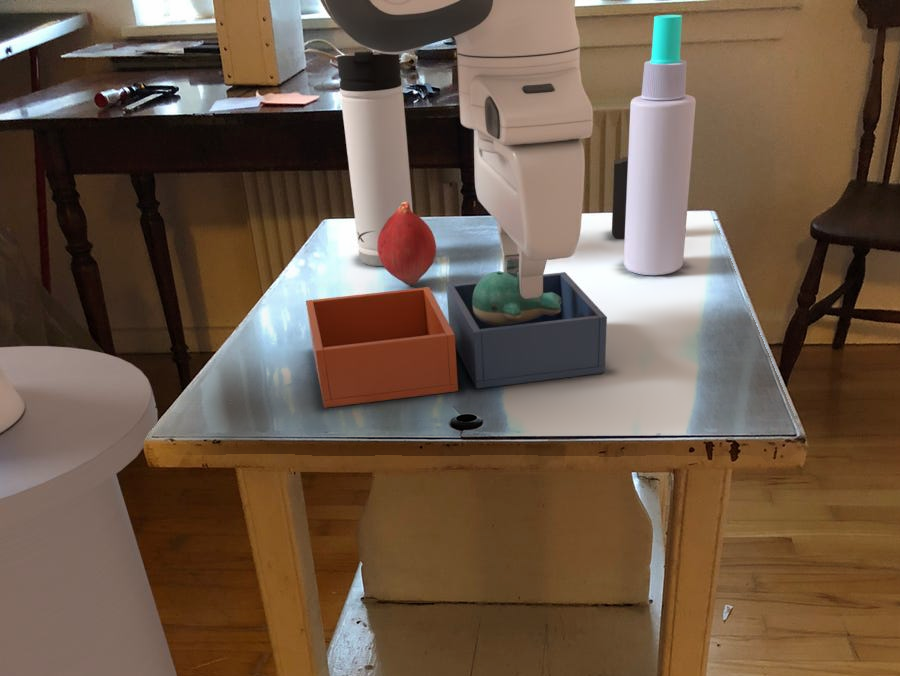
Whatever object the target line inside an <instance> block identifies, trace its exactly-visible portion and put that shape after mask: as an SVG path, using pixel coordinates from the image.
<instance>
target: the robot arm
mask: <svg viewBox="0 0 900 676" xmlns="http://www.w3.org/2000/svg"><path fill="white" fill-rule="evenodd" d="M319 1H320V3H321V5H322V6H323V8H324V10H325V12H326V13H327V14H328V16H329V17H330V18H331V20H332V21H333V22H334V23H335V24H336V25H337V26H338V27H339V28H340V29H341V30H342V31H343V32H344V33H345V34H346V35H347V36H348V37H349V38H350V39H351V40H353V41H354V42H355V43H357V44H359V45H360V46H362V47H364V48H365V49H368V50H369V51H373V52H376V53H378V54H399V55H404V54H408V53H412V52H415V51H417V50H420V49H422V48H424V47H426V46H429V45H432V44H435V43H439V42H442V41H445V40H448V39H451V38H454V40H455V43H456V59H457V60H456V61H457V63H456V64H457V81H458V100H459V119H460V124H461V126H462V127H464V128H467V129H469V130H473V159H474V160H473V164H474V166H473V167H474V188H475V194H476V198H477V201H478V202H479V203H480V204H481V205H482V206H483V208H484V210H486V211H487V212H488V214H489V215H490V216H491V217H492V218H493V220H495V222H496V223H497V225H496V226H497V233H498V239H499V243H500V249H501V254H502V272H505V273H508V274H510V275H512V276H514V277H516V278H517V290H518V292H519V293H520V295H521V296H522V297H523V298H525V299H529V298H538V297H540V296H541V295H542V293H543V274H545V270H546V265H547V261H549V260H550V261H551V260H560V259H566V258H571V257H572V256H574V255H575V252H576V250H577V247H578V244H579V240H580V238H581V237H580V236H581V229H582V217H583V204H584V190H585V189H584V188H585V169H586V168H585V166H586V165H585V164H586V163H585V161H586V160H585V148H584V144H583V142H582V140H581V139H588V138H591V136H592V134H593V126H594V125H593V123H594V122H593V120H594V112H593V111H594V110H593V107H592V103H591V101H590V99H589V97H588V95H587V93H586V91H585V88H584V85H583V83H582V72H581V57H580V55H581V40H580V39H581V37H580V33H579V28H578V25H577V19H576V12H575V11H576V0H319ZM24 409H25V403H24V401H23V399H22V398H21V397H20V395H19V394H18V393H17V391H16V390H15V389H14V387H13V386H12V384H11V383H10V381H9V380H8V378H7V377H6V375H5V373H4V372H3V370H2V369H1V367H0V433H1V432H3V431H5V430H6V429H8V428H9V427H10V426H12V425H13V424H14V423H15V422H16V421H17V420H18V419H19V418H20V417H21V415H22V414H23V412H24Z"/></svg>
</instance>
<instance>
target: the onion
mask: <svg viewBox="0 0 900 676" xmlns="http://www.w3.org/2000/svg"><path fill="white" fill-rule="evenodd" d="M436 242H437V241H436V238H435V235H434V233H433V231H432V229H431V227H430V226H429V225H428V224H427V223H426V222H425V220H424V219H422V217H420V216H419V215H417V214H416V213H415V212H414V211H413V212H412V211H411V209H410V205H409V203H408V202H404V203H402V204H401V206H400V207H399V208H398V209H397V210H396V212H395V213H394V214H393V215H392V216H391V217H390V218H389V219H388V220H387V222H386V223H385V225H384V226H383V228H382V229H381V232H380V234H379V237H378V242H377V251H378V255H379V259H380V261H381V263H382V264H383V266H382V267H384V269H385V270H386V271H387V272H388V273H389V274H390V275H391V276H392V277H394V278H395V279H397V280H399V281H401V282H402V283H403V284H404V285H407V286H414V285H416V284H417V283H418V282H419V280H421V278H422V277H423V276H424V275H425V274H426V273H427V272H428V270H429V269H430V268H431V267H432V264H433V263H434V261H435V258H436V256H437V243H436Z"/></svg>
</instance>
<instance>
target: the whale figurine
mask: <svg viewBox="0 0 900 676" xmlns="http://www.w3.org/2000/svg"><path fill="white" fill-rule="evenodd" d="M477 282H478V284H477V285H476V287H475V290H474V293H473V301H472V302H473V312H474V314H475V316H476V317H477V318H478V319H479V320H480V321H482V322H484V323H486V324H489V325H494V326H503V325H510V324H516V323H521V322H525V321H529V320H532V319H535V318H538V317H540V316H542V315H549V316H554V315H556V314H558V313H559V312H560V311H561V307H560V304H561V302H562V301H561V298H560V296H558V295H557V294H555V293H552V292H550V293H542V295H541V296H540V297H538V298H529V299H525V298H523V297H522V296H521V295H520V293H519V292H518V290H517V278H516V277H514V276H512V275H510V274H508V273H505V272H504V271H500V270H498V271H493V272H490V273H487V274H486V275H484V276H483V277H482V278H480V279H479V281H477Z"/></svg>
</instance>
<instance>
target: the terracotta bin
mask: <svg viewBox="0 0 900 676" xmlns="http://www.w3.org/2000/svg"><path fill="white" fill-rule="evenodd" d="M305 305H306V311H307V318H308V325H309V331H310V338H311V344H312V352H313V356H314V362H315V367H316V372H317V377H318V378H317V379H318V382H319V388H320V393H321V399H322V404H323V408H325V409H326V408H333V407H334V408H335V407H342V406H350V405H357V404H366V403H367V404H368V403H375V402H382V401H390V400H398V399H406V398H413V397H422V396H429V395H431V396H432V395H437V394H445V393H454V392H459V385H458V365H457V353H456V352H457V349H456V348H455V335H454V333H453V331H452V329H451V327H450V325H449V321H448V320H447V318H446V316H445V314H444V312H443V310H442V308H441V306H440V304H439V303H438V301H437V299H436V297H435V295H434V294H433V292H432V290H431V288H430V287H429V286H426V287H425V286H424V287H418V288H417V287H416V288H407V289H400V290H389V291H381V292H380V291H379V292H372V293H363V294H362V293H361V294H354V295H345V296H344V295H343V296H335V297H326V298H317V299H307V300H305Z"/></svg>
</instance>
